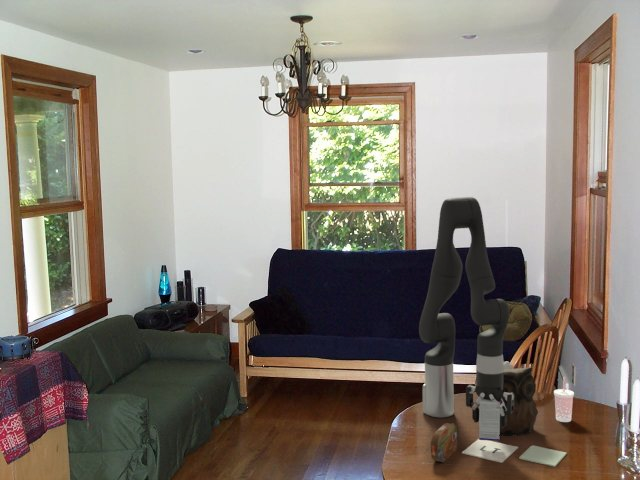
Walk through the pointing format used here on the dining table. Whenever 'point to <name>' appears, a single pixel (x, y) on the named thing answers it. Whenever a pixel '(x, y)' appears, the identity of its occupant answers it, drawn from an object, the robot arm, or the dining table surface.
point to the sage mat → (543, 455)
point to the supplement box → (489, 420)
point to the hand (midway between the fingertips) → (489, 424)
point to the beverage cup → (563, 403)
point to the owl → (520, 401)
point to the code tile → (490, 450)
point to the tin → (444, 442)
